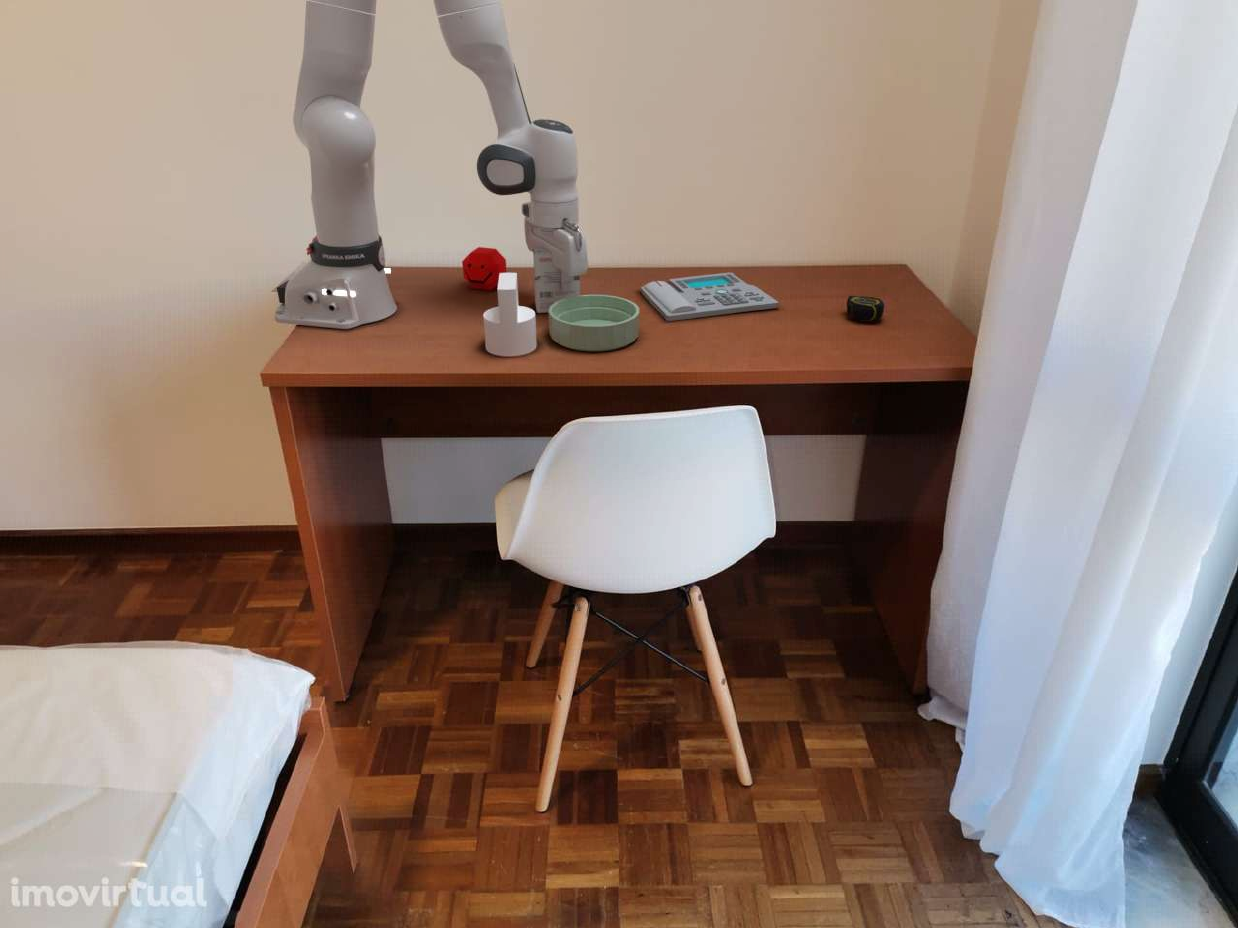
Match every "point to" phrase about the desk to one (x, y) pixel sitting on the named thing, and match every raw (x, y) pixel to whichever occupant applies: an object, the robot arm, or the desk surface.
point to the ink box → (549, 281)
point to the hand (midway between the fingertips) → (557, 285)
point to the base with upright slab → (509, 322)
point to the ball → (483, 268)
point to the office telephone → (705, 296)
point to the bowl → (594, 322)
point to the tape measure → (865, 308)
